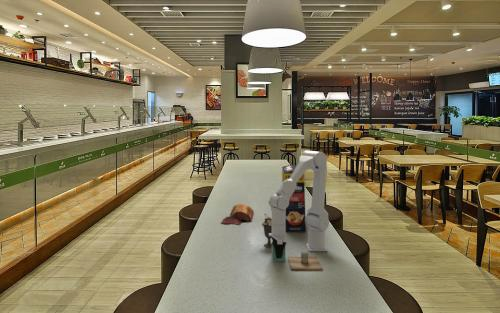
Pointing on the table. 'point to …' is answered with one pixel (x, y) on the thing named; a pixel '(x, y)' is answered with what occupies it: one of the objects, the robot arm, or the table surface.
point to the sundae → (267, 230)
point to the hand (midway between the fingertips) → (278, 255)
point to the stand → (304, 263)
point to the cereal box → (295, 203)
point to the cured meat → (239, 215)
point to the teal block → (275, 255)
